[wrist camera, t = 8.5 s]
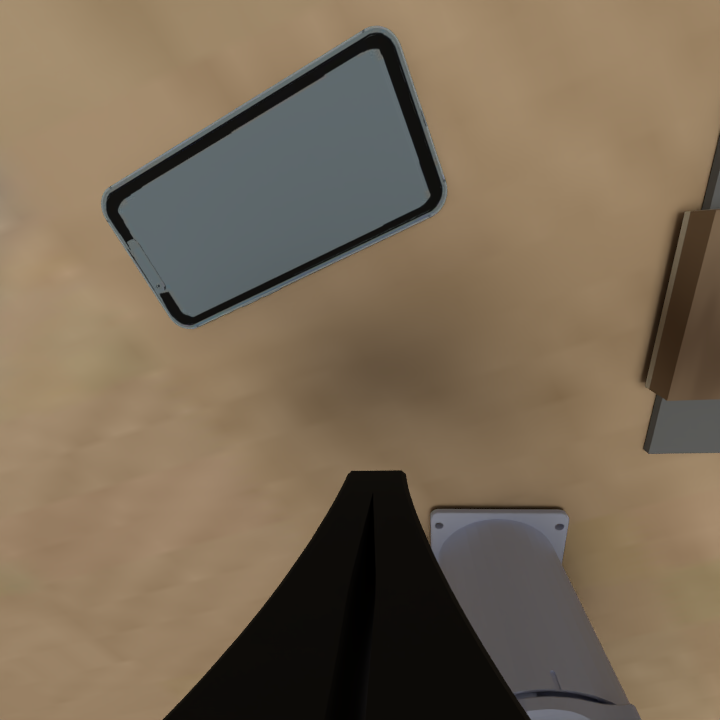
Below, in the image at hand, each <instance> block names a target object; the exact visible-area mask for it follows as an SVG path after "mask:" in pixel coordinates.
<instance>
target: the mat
mask: <svg viewBox="0 0 720 720" xmlns="http://www.w3.org/2000/svg"><path fill="white" fill-rule="evenodd" d="M709 209H720V137H719V141H718V145H717V150H716V154H715V158H714V162H713V166H712V170H711V174H710V178H709V182H708V187H707V191H706V195H705V199H704V203H703V207H702V210H709ZM644 450H645V451H646V452H647V453H648V454H663V453H720V399H714V400H680V401H666V400H665V399H663V398H662V397H660V396H659V395H657V396H656V400H655V404H654V408H653V412H652V416H651V420H650V425H649V429H648V433H647V437H646V441H645V445H644Z"/></svg>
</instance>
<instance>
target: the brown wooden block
mask: <svg viewBox="0 0 720 720" xmlns="http://www.w3.org/2000/svg"><path fill="white" fill-rule="evenodd" d="M645 387H646V388H648V389H650V390H651V391H653V392H654V393H656V394H657V395H659V396H660V397H662V398H663V399H665V400H666V401H680V400H714V399H720V209H709V210H698V211H687V212H685V214H684V218H683V222H682V227H681V231H680V236H679V240H678V244H677V249H676V253H675V257H674V262H673V266H672V271H671V275H670V279H669V284H668V288H667V293H666V297H665V301H664V306H663V310H662V314H661V319H660V323H659V328H658V332H657V336H656V341H655V345H654V349H653V354H652V358H651V363H650V367H649V371H648V376H647V380H646V384H645Z"/></svg>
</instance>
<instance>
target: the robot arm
mask: <svg viewBox="0 0 720 720" xmlns="http://www.w3.org/2000/svg"><path fill="white" fill-rule="evenodd" d="M436 523H441V524H436ZM430 524H431V547H430V544H429V542H428V540H427V538H426V535H425V533H424V531H423V528H422V526H421V524H420V521H419V519H418V516H417V513H416V511H415V508H414V505H413V502H412V499H411V496H410V492H409V489H408V484H407V479H406V474H405V473H404V472H402V471H351V472H350V473H349V474H348V475H347V477H346V480H345V482H344V484H343V486H342V488H341V490H340V491H339V493H338V495H337V497H336V499H335V501H334V502H333V504H332V506H331V508H330V509H329V511H328V513H327V515H326V516H325V518H324V520H323V521H322V523H321V524H320V526H319V528H318V529H317V531H316V532H315V534H314V536H313V537H312V539H311V540H310V542H309V543H308V545H307V546H306V548H305V549H304V551H303V552H302V554H301V555H300V557H299V558H298V559H297V561H296V562H295V564H294V565H293V567H292V568H291V569H290V571H289V572H288V574H287V575H286V577H285V578H284V579H283V581H282V582H281V584H280V585H279V586H278V588H277V589H276V590H275V592H274V593H273V594H272V596H271V597H270V598H269V599H268V601H267V602H266V603H265V605H264V606H263V607H262V608H261V610H260V611H259V612H258V613H257V615H256V616H255V617H254V618H253V620H252V621H251V622H250V623H249V624H248V626H247V627H246V628H245V629H244V631H243V632H242V633H241V634H240V635H239V637H238V638H237V639H236V640H235V641H234V642H233V643H232V645H231V646H230V647H229V648H228V649H227V650H226V651H225V653H224V654H223V655H222V656H221V657H220V658H219V659H218V661H217V662H216V663H215V664H214V665H213V666H212V667H211V669H210V670H209V671H208V672H207V673H206V674H205V675H204V676H203V678H202V679H201V680H200V681H199V682H198V683H197V684H196V685H195V686H194V687H193V689H192V690H191V691H190V692H189V693H188V694H187V695H186V696H185V697H184V698H183V699H182V700H181V701H180V702H179V703H178V704H177V705H176V706H175V708H174V709H173V710H172V711H171V712H170V713H169V714H168V715H167V716H166V717H165V718H164V719H163V720H641V718H640V716H639V714H638V712H637V710H636V708H635V706H634V705H632V704H630V703H629V701H628V699H627V697H626V695H625V693H624V690H623V688H622V686H621V684H620V682H619V680H618V678H617V676H616V674H615V672H614V670H613V668H612V666H611V664H610V662H609V660H608V658H607V656H606V654H605V652H604V650H603V648H602V646H601V643H600V641H599V639H598V637H597V635H596V633H595V631H594V629H593V627H592V625H591V623H590V621H589V619H588V617H587V615H586V613H585V611H584V609H583V607H582V605H581V603H580V601H579V599H578V597H577V594H576V592H575V590H574V588H573V586H572V584H571V582H570V580H569V578H568V576H567V574H566V572H565V570H564V568H563V566H562V560H563V554H564V548H565V542H566V536H567V530H568V524H569V517H568V515H567V514H566V512H565V511H563V510H559V509H435V510H433V511H432V512H431V514H430ZM557 524H559V525H557Z"/></svg>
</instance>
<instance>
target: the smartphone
mask: <svg viewBox="0 0 720 720" xmlns="http://www.w3.org/2000/svg"><path fill="white" fill-rule="evenodd" d="M446 197H447V184H446V180H445V177H444V174H443V171H442V168H441V165H440V162H439V159H438V156H437V153H436V150H435V147H434V144H433V141H432V138H431V135H430V132H429V129H428V126H427V123H426V120H425V117H424V114H423V111H422V108H421V105H420V102H419V99H418V96H417V93H416V90H415V87H414V84H413V81H412V78H411V75H410V72H409V69H408V66H407V63H406V60H405V57H404V54H403V51H402V48H401V45H400V43H399V40H398V39H397V37H396V36H395V35H394V34H393V32H391V31H390V30H389V29H387V28H385V27H382V26H371V27H368V28H366V29H364V30H362V31H361V32H359V33H357V34H356V35H354V36H353V37H351V38H349V39H348V40H346V41H344V42H343V43H341V44H340V45H338V46H336V47H335V48H333V49H332V50H330V51H328V52H327V53H325V54H323V55H322V56H320V57H319V58H317V59H315V60H314V61H312V62H311V63H309V64H307V65H306V66H304V67H302V68H301V69H299V70H298V71H296V72H294V73H293V74H291V75H290V76H288V77H286V78H285V79H283V80H281V81H280V82H278V83H277V84H275V85H273V86H272V87H270V88H269V89H267V90H265V91H264V92H262V93H260V94H259V95H257V96H256V97H254V98H252V99H251V100H249V101H248V102H246V103H244V104H243V105H241V106H239V107H238V108H236V109H235V110H233V111H231V112H230V113H228V114H227V115H225V116H223V117H222V118H220V119H218V120H217V121H215V122H214V123H212V124H210V125H209V126H207V127H206V128H204V129H202V130H201V131H199V132H197V133H196V134H194V135H193V136H191V137H189V138H188V139H186V140H185V141H183V142H181V143H180V144H178V145H176V146H175V147H173V148H172V149H170V150H168V151H167V152H165V153H164V154H162V155H160V156H159V157H157V158H155V159H154V160H152V161H151V162H149V163H147V164H146V165H144V166H143V167H141V168H139V169H138V170H136V171H134V172H133V173H131V174H130V175H128V176H126V177H125V178H123V179H122V180H120V181H118V182H117V183H115V184H113V185H112V186H110V187H109V188H107V189H106V190H105V192H104V194H103V196H102V200H101V207H102V212H103V214H104V217H105V219H106V220H107V222H108V223H109V225H110V227H111V228H112V230H113V231H114V233H115V234H116V236H117V237H118V239H119V240H120V242H121V243H122V245H123V247H124V248H125V250H126V251H127V253H128V254H129V256H130V257H131V259H132V260H133V262H134V263H135V265H136V267H137V268H138V270H139V271H140V273H141V274H142V276H143V277H144V279H145V280H146V282H147V283H148V285H149V287H150V288H151V290H152V291H153V293H154V294H155V296H156V297H157V299H158V300H159V302H160V303H161V305H162V307H163V308H164V310H165V311H166V313H167V314H168V316H169V317H170V319H171V320H172V321H173V322H174V323H175V324H177V325H178V326H180V327H182V328H186V329H194V328H197V327H199V326H201V325H204V324H206V323H208V322H210V321H212V320H214V319H216V318H218V317H221V316H223V315H225V314H228V313H230V312H232V311H234V310H235V309H237V308H240V307H244V306H246V305H248V304H250V303H252V302H254V301H257V300H259V298H261V297H265V296H267V295H269V294H271V293H273V292H276V291H278V290H280V288H282V287H284V286H286V285H288V284H290V283H292V282H295V281H297V280H299V279H301V278H303V277H305V276H307V275H309V274H311V273H314V272H316V271H318V270H320V269H322V268H324V267H326V266H328V265H331V264H333V263H335V262H337V261H339V260H341V259H343V258H345V257H347V256H350V255H352V254H354V253H356V252H358V251H360V250H362V249H364V248H366V247H369V246H371V245H373V244H375V243H377V242H379V241H381V240H383V239H386V238H388V237H390V236H392V235H394V234H396V233H398V232H400V231H402V230H405V229H407V228H409V227H411V226H413V225H415V224H417V223H419V222H421V221H424V220H426V219H428V218H430V217H432V216H434V215H435V214H436V213H438V212H439V210H440V209H441V208H442V206H443V205H444V203H445V200H446ZM429 215H430V216H429Z"/></svg>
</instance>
